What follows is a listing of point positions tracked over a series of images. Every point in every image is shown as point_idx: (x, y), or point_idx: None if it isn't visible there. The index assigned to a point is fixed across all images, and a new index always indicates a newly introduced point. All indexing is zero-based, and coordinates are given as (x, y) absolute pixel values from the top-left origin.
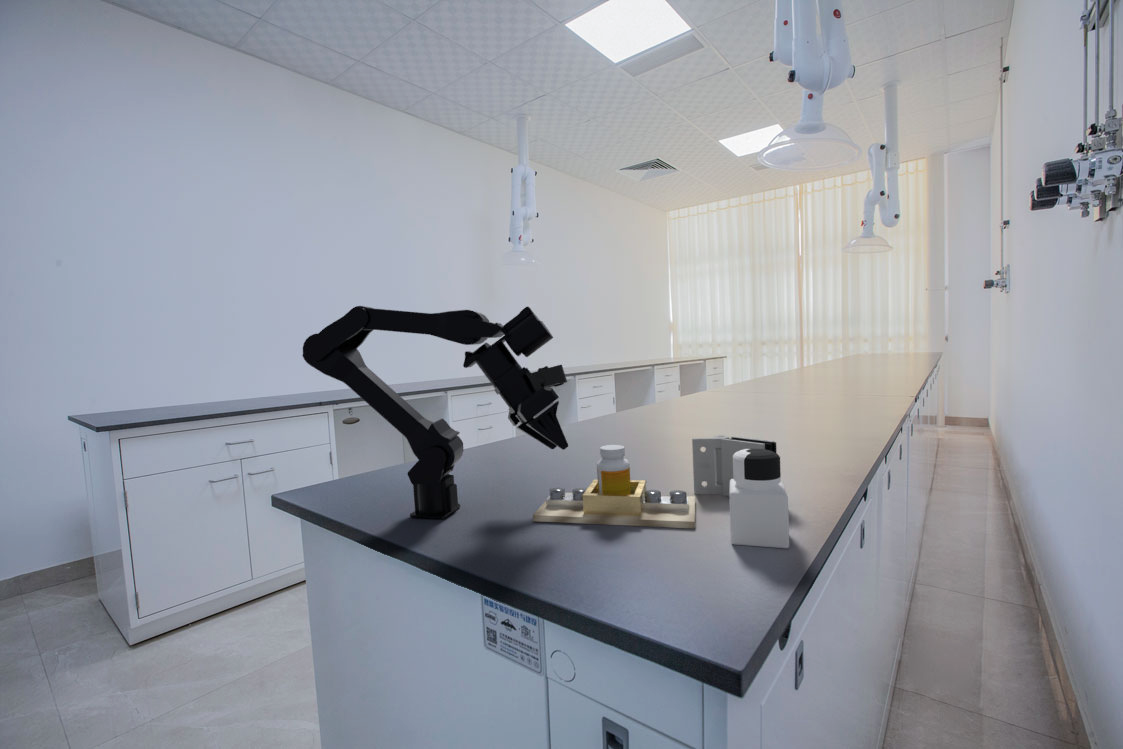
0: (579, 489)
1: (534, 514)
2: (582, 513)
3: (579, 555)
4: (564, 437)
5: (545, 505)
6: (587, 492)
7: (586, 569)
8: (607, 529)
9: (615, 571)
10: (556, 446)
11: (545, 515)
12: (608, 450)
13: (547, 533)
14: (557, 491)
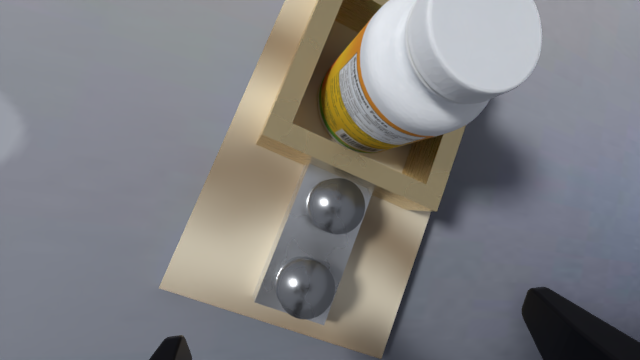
0: (328, 206)
1: (377, 353)
2: (403, 212)
3: (570, 247)
4: (609, 327)
5: (306, 320)
6: (415, 191)
7: (617, 241)
8: (466, 163)
9: (629, 194)
10: (184, 337)
11: (393, 320)
12: (534, 66)
13: (459, 310)
14: (330, 289)
